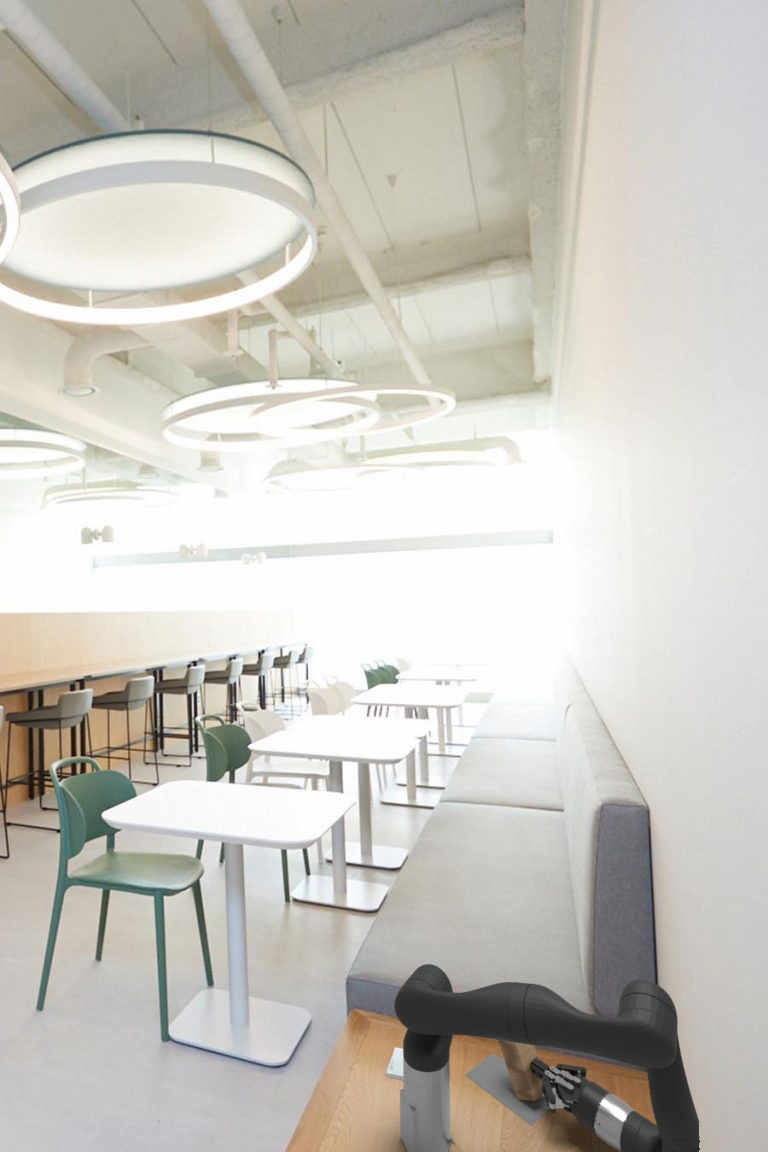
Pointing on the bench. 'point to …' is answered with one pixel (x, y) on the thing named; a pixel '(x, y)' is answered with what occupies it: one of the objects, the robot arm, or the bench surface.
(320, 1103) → the bench surface
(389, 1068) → the hard drive
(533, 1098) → the light brown wooden block
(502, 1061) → the rubber mat
